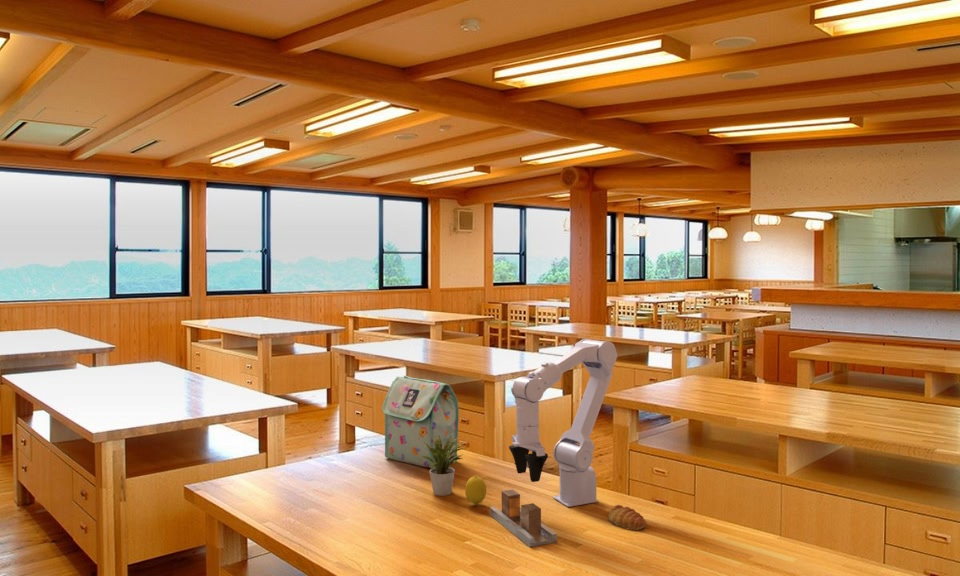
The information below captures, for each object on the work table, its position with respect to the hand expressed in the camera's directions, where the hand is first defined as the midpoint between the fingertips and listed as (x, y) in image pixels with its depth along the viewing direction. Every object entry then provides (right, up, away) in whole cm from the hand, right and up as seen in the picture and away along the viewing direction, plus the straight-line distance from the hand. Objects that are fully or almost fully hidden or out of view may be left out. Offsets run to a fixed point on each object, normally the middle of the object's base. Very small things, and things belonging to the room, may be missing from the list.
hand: (528, 476), depth 179 cm
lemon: (-13, -10, +7) cm, 18 cm away
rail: (-2, -10, -9) cm, 14 cm away
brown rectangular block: (-5, -9, -4) cm, 11 cm away
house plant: (-23, -9, +16) cm, 29 cm away
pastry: (+24, -10, -7) cm, 27 cm away
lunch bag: (-32, -8, +49) cm, 59 cm away
